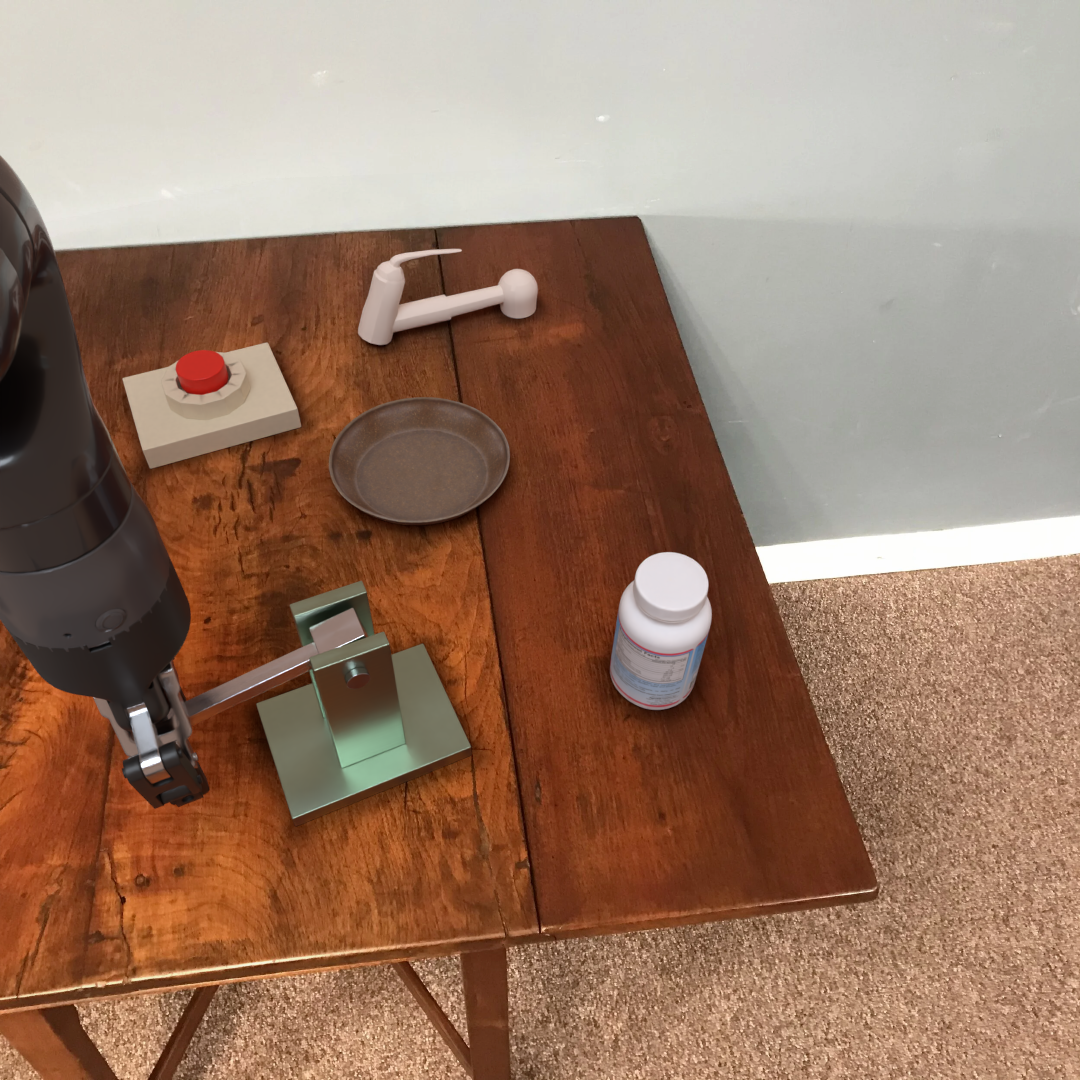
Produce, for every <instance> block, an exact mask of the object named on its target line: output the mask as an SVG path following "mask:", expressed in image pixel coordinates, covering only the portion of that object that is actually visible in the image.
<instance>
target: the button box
mask: <svg viewBox="0 0 1080 1080" xmlns="http://www.w3.org/2000/svg"><path fill="white" fill-rule="evenodd" d="M216 352H217V353H218V354H220V355H221V356H222V357H223V359H224V362H225V365H226V369H227V372H228V381H227V383H226V385H225V386H224V387H222V388H221V389H219V390H218V391H216V392H212V393H208V394H204V395H196V394H190V393H187V392H186V391H185V390H183V388H182V387H181V384H180V381H179V379H178V376H177V373H176V364H177V362H178V361H179V360H180V359H178V360H176V361H175V362H174V363H172V364H171V365H169V366H166V367H162V368H158V369H157V368H156V369H153V370H149V371H145V372H141V373H137V374H133V375H130V376H125V377H122V379H121V380H122V383H123V387H124V390H125V393H126V396H127V400H128V404H129V408H130V411H131V416H132V419H133V422H134V425H135V429H136V432H137V436H138V439H139V443H140V446H141V451H142V453H143V455H144V458H145V460H146V463H147V466H148V468H149V469H155V468H159V467H163V466H166V465H170V464H173V463H177V462H180V461H185V460H187V459H191V458H195V457H198V456H202V455H206V454H209V453H213V452H216V451H220V450H221V451H222V450H225V449H227V448H232V447H235V446H239V445H242V444H245V443H249V442H253V441H256V440H260V439H263V438H267V437H271V436H274V435H279V434H282V433H285V432H289V431H292V430H296V429H299V428H302V423H301V417H300V413H299V408H298V407H297V404H296V402H295V400H294V397H293V395H292V393H291V391H290V389H289V386H288V384H287V381H286V380H285V377H284V376H283V373H282V371H281V368H280V366H279V364H278V361H277V360H276V357H275V356H274V353H273V351H272V349H271V346H270V344H269V342H262V343H259V344H254V345H251V346H247V347H243V348H239V349H234V350H230V351H226V352H222V351H221V352H220V351H216Z"/></svg>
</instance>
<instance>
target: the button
mask: <svg viewBox="0 0 1080 1080" xmlns="http://www.w3.org/2000/svg"><path fill="white" fill-rule="evenodd" d="M217 352H218V351H214V350H209V349H199V350H194V351H191V352H188V353H186V354H184V355H183V356H181V357H180V358H179V359H178V360H179V361H178V360H177V361H178V362H177V361H176V362H177V364H176V373H177V376H178V379H179V381H180V384H181V387H182V388H183V390H185V391H186V392H187V393H190V394H196V395H204V394H208V393H212V392H216V391H218V390H219V389H221V388H222V387H224V386H225V385H226V383H227V381H228V372H227V369H226V365H225V362H224V359H223V357H222V356H221V355H220V354H218V353H217Z"/></svg>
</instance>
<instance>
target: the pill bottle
mask: <svg viewBox="0 0 1080 1080" xmlns="http://www.w3.org/2000/svg"><path fill="white" fill-rule="evenodd" d="M708 592H709V578H708V575H707V573H706V571H705V569H704V568H703V567H702V565H701V564H700V563H699V562H698V561H696V560H695V559H693V558H692V557H690V556H687V555H686V554H682V553H680V552H674V551H673V552H672V551H665V552H658V553H655V554H652V555H649V556H648V557H647V558H645V559H643V561H642V562H641V563H640V564H639V566H638V567H637V569H636V572H635V574H634V580H632V581H631V582H630V583H629V584H628V585H627V587H625V589H624V590H623V592H622V594H621V597H620V601H619V605H618V609H617V610H618V611H617V617H616V623H615V629H614V637H613V641H612V642H613V643H612V650H611V656H610V664H609V674H610V678H611V681H612V684H613V685H614V688H615V690H617V691H618V693H619V694H620V695H621V696H622V697H623V698H625V699H626V700H627V701H628V702H630V703H631V704H633V705H635V706H637V707H640V708H642V709H646V710H650V711H651V710H652V711H661V710H668V709H670V708H674V707H676V706H678V705H679V704H681V703H683V702H684V701H685V700H686V699H687V698H688V696H690V694H691V692H692V690H693V688H694V687H695V683H696V680H697V677H698V672H699V669H700V666H701V662H702V658H703V654H704V651H705V647H706V644H707V640H708V637H709V633H710V629H711V625H712V619H713V618H712V617H713V614H712V613H713V610H712V606H711V601H710V600H709V597H708Z"/></svg>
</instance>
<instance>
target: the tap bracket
mask: <svg viewBox="0 0 1080 1080" xmlns="http://www.w3.org/2000/svg"><path fill="white" fill-rule="evenodd" d="M368 595H369V594H368V591H367V589H366V587H365V584H364V582H363V580H358V581H356V582H353V583H350V584H347V585H344V586H341V587H337V588H335V589H332V590H329V591H325V592H322V593H320V594H316V595H313V596H311V597H308V598H305V599H301V600H299V601H296V602H292V603H290V604H289V609H290V613H291V616H292V619H293V622H294V626H295V629H296V632H297V636H298V640H299V642H300V643H299V644H300V647H303V646H305V645H308V644H310V643H312V642H314V640H313V638H312V635H311V633H310V630H309V628H310V627H311V626H314V625H316V624H318V623H320V622H322V621H324V620H327V619H329V618H331V617H333V616H335V615H337V614H340V613H342V612H344V611H346V610H348V609H350V608H354V609H355V611H356V613H357V615H358V617H359V618H360V620H361V622H362V624H363V625H364V627H365V629H366V632H367V634H368V637H366V638H363V639H360V640H358V641H355V642H352V643H349V644H346V645H343V646H341V647H338V648H335V649H332V650H329V651H326V652H323V653H321V654H318V655H315V656H312V657H310V658H309V661H310V664H311V668H312V670H310V671H308V674H309V676H310V680H311V683H309V684H306V685H303V686H300V687H298V688H295V689H292V690H290V691H287V692H284V693H281V694H278V695H275V696H273V697H270V698H267V699H264V700H262V701H259V702H257V703H255V705H256V708H257V711H258V716H259V718H260V722H261V724H262V728H263V731H264V734H265V737H266V741H267V743H268V747H269V749H270V750H269V751H270V754H271V757H272V759H273V762H274V766H275V770H276V772H277V775H278V779H279V782H280V785H281V788H282V792H283V794H284V795H283V796H284V798H285V801H286V804H287V808H288V810H289V814H290V818H291V820H292V822H293V825H294V827H298V826H300V825H303V824H305V823H309V822H312V821H313V820H315V819H318V818H321V817H323V816H326V815H328V814H330V813H333V812H335V811H338V810H340V809H343V808H346V807H347V806H350V805H353V804H355V803H358V802H360V801H362V800H365V799H367V798H370V797H373V796H375V795H377V794H380V793H382V792H384V791H387V790H390V789H392V788H395V787H397V786H399V785H402V784H404V783H408V782H409V781H412V780H414V779H417V778H419V777H422V776H424V775H426V774H429V773H431V772H433V771H434V772H435V771H436V770H439V769H441V768H444V767H447V766H448V765H451V764H453V763H457V762H459V761H461V760H464V759H466V758H469V757H471V756H472V754H473V753H472V745H471V742H470V741H469V738H468V737H467V734H466V732H465V730H464V728H463V726H462V724H461V721H460V719H459V717H458V715H457V713H456V711H455V709H454V706H453V704H452V702H451V700H450V697H449V695H448V693H447V691H446V689H445V687H444V684H443V683H442V681H441V678H440V676H439V674H438V672H437V669H436V667H435V665H434V663H433V661H432V659H431V657H430V655H429V652H428V650H427V648H426V646H425V644H424V643H419V644H417V645H415V646H412V647H408V648H406V649H403V650H400V651H397V652H395V653H392V651H391V644H390V642H389V639H388V637H387V634H386V632H385V631H381V632H378V633H375V628H374V622H373V617H372V612H371V606H370V601H369V596H368Z"/></svg>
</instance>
